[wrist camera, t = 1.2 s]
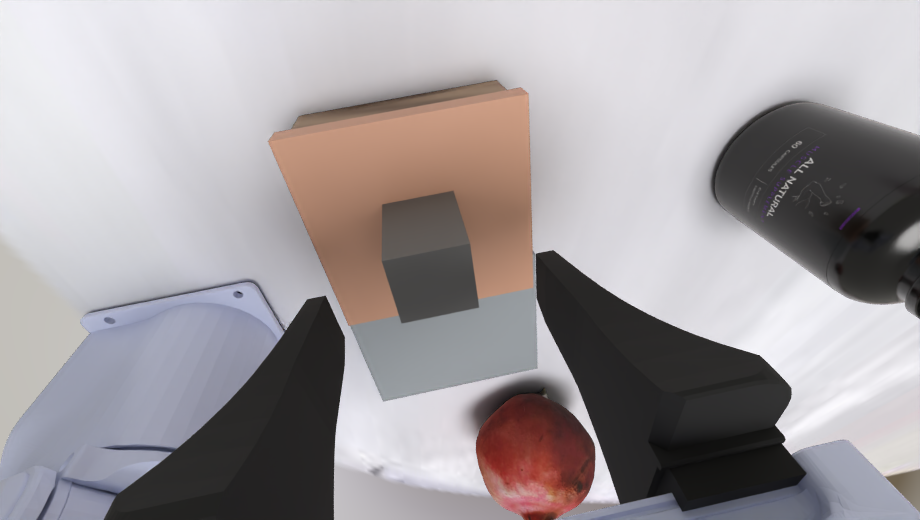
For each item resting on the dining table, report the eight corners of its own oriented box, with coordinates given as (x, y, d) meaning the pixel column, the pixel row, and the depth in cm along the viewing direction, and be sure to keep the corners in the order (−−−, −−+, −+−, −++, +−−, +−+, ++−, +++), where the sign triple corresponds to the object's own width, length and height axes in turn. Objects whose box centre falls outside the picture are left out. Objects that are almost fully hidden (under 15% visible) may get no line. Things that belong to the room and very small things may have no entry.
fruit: (581, 368, 32) (647, 499, 24) (559, 433, 37) (606, 557, 29) (470, 379, 31) (501, 523, 23) (464, 445, 36) (487, 579, 28)
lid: (350, 312, 21) (342, 393, 17) (274, 132, 15) (234, 191, 11) (527, 276, 21) (561, 346, 17) (520, 87, 15) (569, 127, 11)
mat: (383, 396, 30) (383, 401, 30) (337, 290, 23) (336, 294, 23) (535, 364, 31) (537, 368, 30) (533, 250, 24) (534, 254, 24)
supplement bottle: (707, 134, 21) (974, 267, 12) (836, 76, 20) (1239, 167, 11) (709, 230, 25) (908, 387, 16) (817, 184, 24) (1097, 321, 15)
